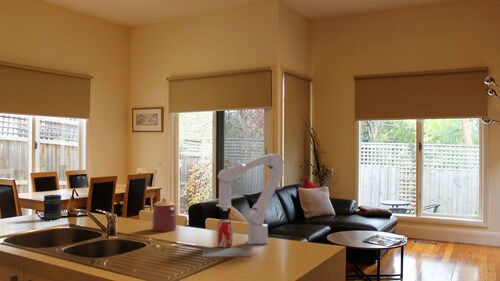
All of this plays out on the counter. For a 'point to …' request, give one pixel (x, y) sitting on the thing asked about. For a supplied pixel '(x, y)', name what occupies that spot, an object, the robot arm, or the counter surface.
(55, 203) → the storage jar
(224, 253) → the mat
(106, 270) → the counter surface
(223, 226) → the soda can
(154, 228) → the canister
